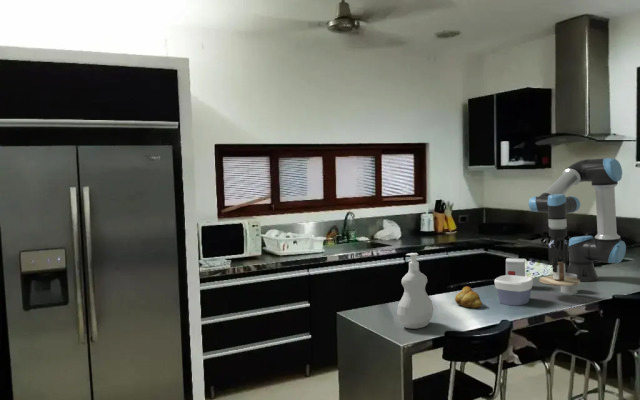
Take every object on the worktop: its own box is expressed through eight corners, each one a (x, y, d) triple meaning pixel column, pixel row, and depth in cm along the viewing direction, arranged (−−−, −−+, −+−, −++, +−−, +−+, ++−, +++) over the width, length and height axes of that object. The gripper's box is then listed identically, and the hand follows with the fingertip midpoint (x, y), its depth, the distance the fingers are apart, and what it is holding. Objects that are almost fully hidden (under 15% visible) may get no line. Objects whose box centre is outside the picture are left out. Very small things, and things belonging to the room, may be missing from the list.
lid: (553, 275, 238) (552, 257, 237) (587, 281, 224) (587, 262, 223) (531, 281, 229) (530, 263, 229) (566, 288, 215) (565, 268, 214)
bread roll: (486, 308, 218) (486, 290, 218) (468, 311, 215) (468, 293, 214) (468, 301, 230) (468, 284, 230) (451, 304, 227) (450, 287, 226)
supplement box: (506, 290, 248) (505, 261, 247) (506, 286, 256) (505, 258, 256) (525, 291, 245) (524, 261, 244) (525, 287, 253) (524, 258, 252)
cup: (557, 293, 238) (557, 274, 238) (568, 289, 244) (568, 271, 244) (572, 295, 232) (572, 277, 232) (583, 292, 238) (583, 273, 238)
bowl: (505, 296, 236) (504, 273, 235) (537, 301, 225) (537, 277, 224) (490, 303, 225) (489, 279, 224) (523, 309, 214) (523, 283, 213)
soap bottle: (419, 318, 206) (417, 249, 205) (441, 324, 197) (438, 252, 196) (390, 327, 197) (388, 254, 195) (411, 334, 187) (409, 257, 186)
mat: (548, 292, 240) (548, 291, 240) (593, 300, 222) (593, 299, 222) (525, 298, 231) (525, 297, 231) (570, 308, 212) (570, 306, 212)
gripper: (560, 225, 232) (562, 273, 234) (538, 229, 223) (540, 280, 225) (576, 226, 226) (577, 276, 227) (554, 230, 217) (556, 282, 219)
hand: (559, 278), depth 226 cm, fingers closed on lid, 4 cm apart
